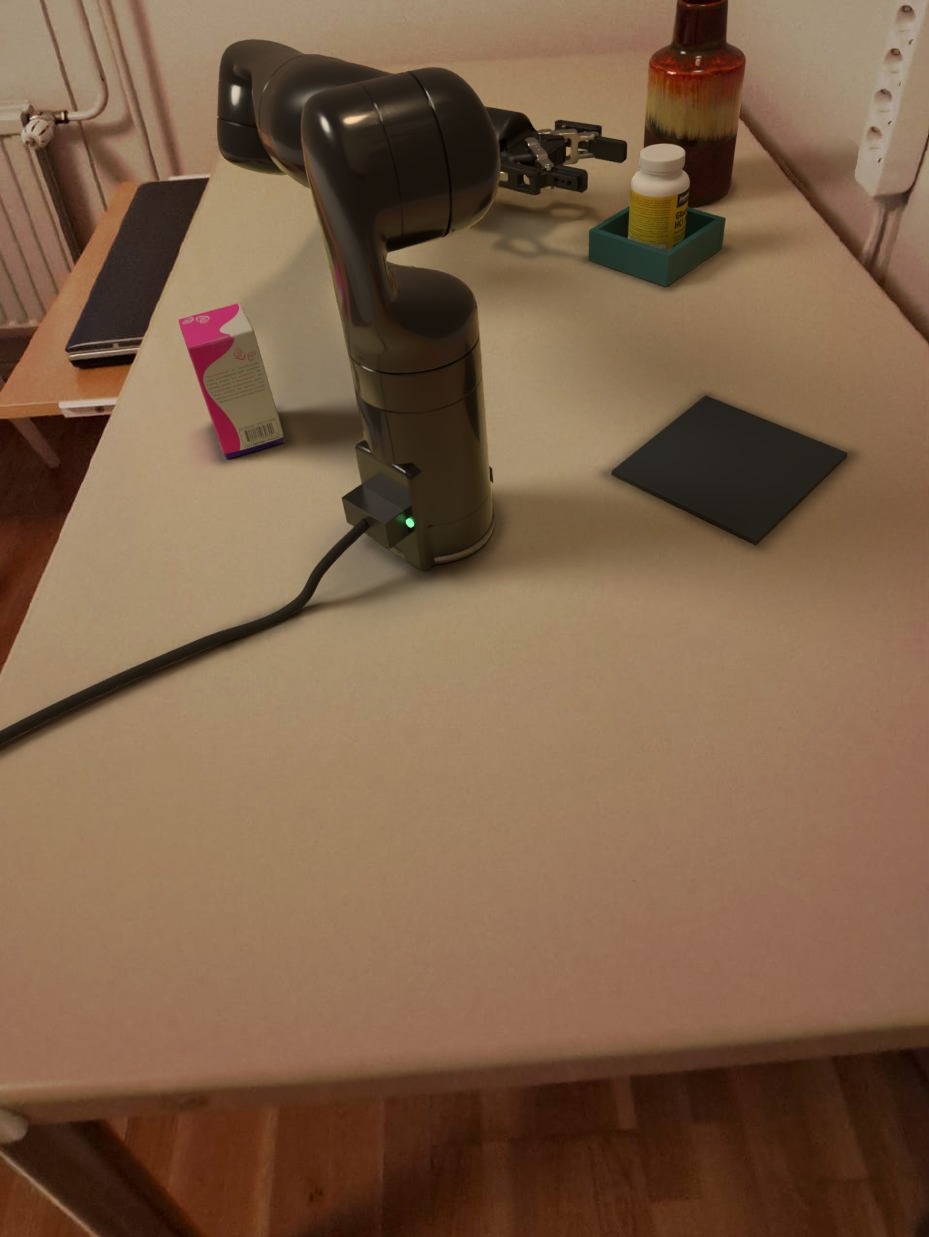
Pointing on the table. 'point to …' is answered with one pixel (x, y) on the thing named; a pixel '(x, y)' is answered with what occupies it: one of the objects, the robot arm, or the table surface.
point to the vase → (698, 97)
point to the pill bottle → (659, 197)
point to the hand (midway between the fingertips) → (606, 166)
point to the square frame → (650, 261)
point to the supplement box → (232, 380)
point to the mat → (730, 467)
